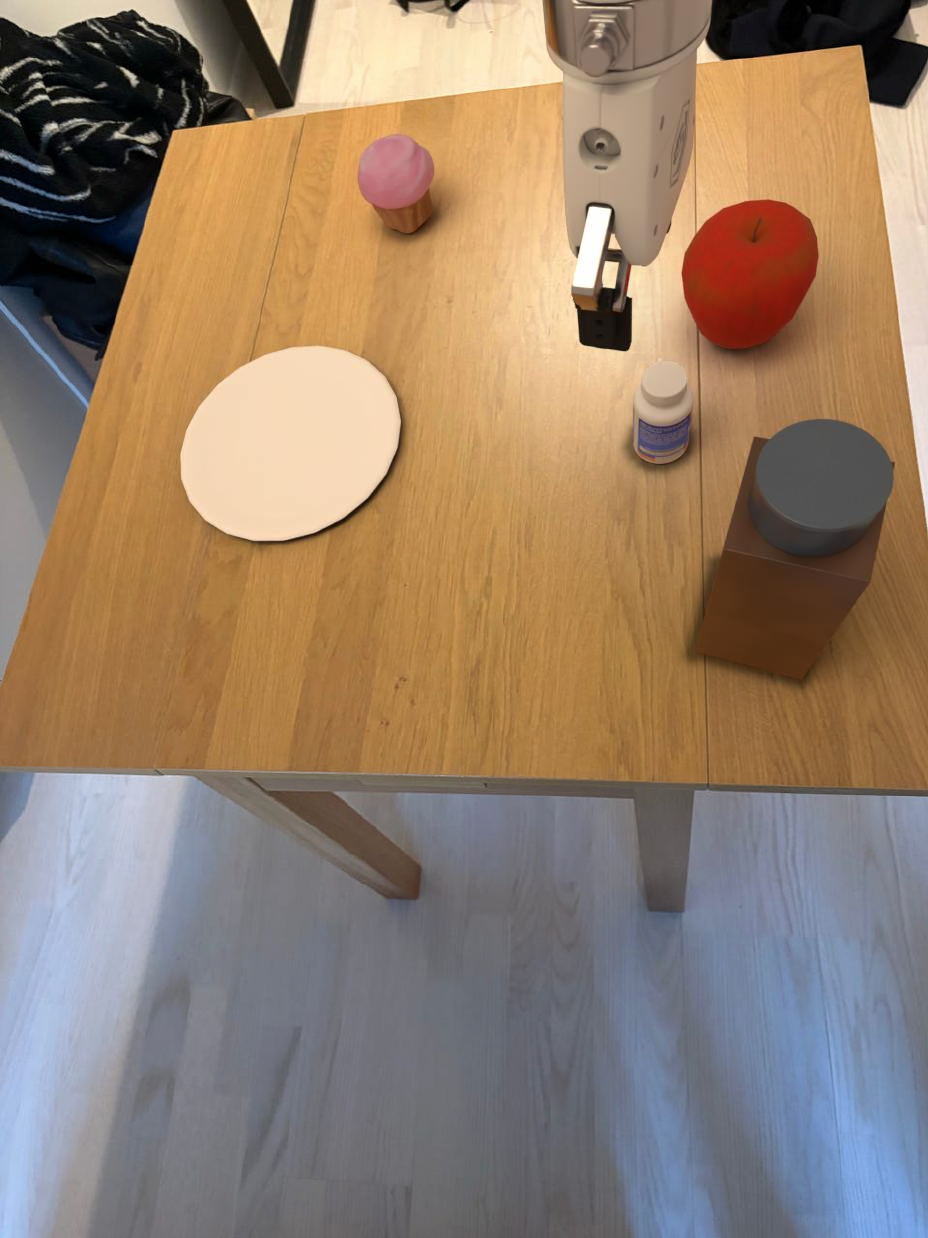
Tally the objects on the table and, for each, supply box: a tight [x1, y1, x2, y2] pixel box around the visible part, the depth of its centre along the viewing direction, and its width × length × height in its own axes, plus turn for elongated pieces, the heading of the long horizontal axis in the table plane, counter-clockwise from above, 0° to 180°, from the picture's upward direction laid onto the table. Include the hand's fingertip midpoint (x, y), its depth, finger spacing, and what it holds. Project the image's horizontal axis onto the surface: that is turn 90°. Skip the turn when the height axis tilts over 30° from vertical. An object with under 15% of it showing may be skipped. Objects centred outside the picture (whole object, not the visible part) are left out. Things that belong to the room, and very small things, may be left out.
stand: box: [694, 435, 896, 681], centre depth 61 cm, size 9×9×20 cm
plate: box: [179, 345, 402, 542], centre depth 86 cm, size 25×25×1 cm
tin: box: [748, 418, 895, 557], centre depth 50 cm, size 8×8×4 cm
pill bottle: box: [632, 360, 695, 465], centre depth 74 cm, size 5×5×10 cm
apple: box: [680, 198, 819, 349], centre depth 75 cm, size 12×12×14 cm
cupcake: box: [357, 133, 435, 234], centre depth 92 cm, size 9×9×10 cm
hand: (626, 285), depth 51 cm, fingers open, 9 cm apart
